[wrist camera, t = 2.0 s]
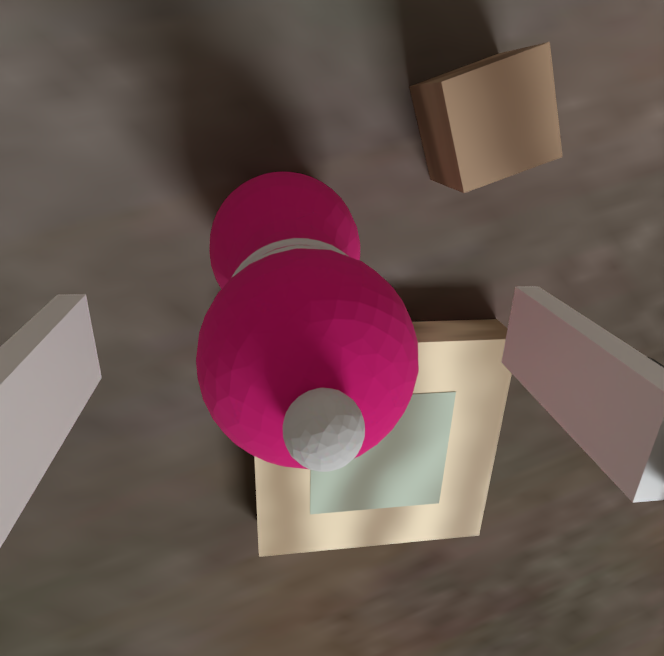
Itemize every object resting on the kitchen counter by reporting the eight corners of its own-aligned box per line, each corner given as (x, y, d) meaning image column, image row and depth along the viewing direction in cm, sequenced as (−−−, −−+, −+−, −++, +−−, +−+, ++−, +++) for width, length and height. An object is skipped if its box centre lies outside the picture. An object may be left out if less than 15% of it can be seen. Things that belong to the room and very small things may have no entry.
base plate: (258, 523, 36) (259, 557, 34) (250, 327, 30) (249, 349, 27) (463, 505, 39) (479, 535, 36) (496, 319, 32) (519, 339, 29)
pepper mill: (368, 208, 28) (572, 393, 10) (301, 310, 30) (370, 616, 12) (257, 134, 26) (263, 200, 8) (192, 249, 28) (74, 520, 10)
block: (430, 179, 28) (463, 192, 23) (408, 86, 26) (441, 81, 21) (512, 149, 28) (562, 156, 23) (497, 53, 26) (549, 41, 21)
